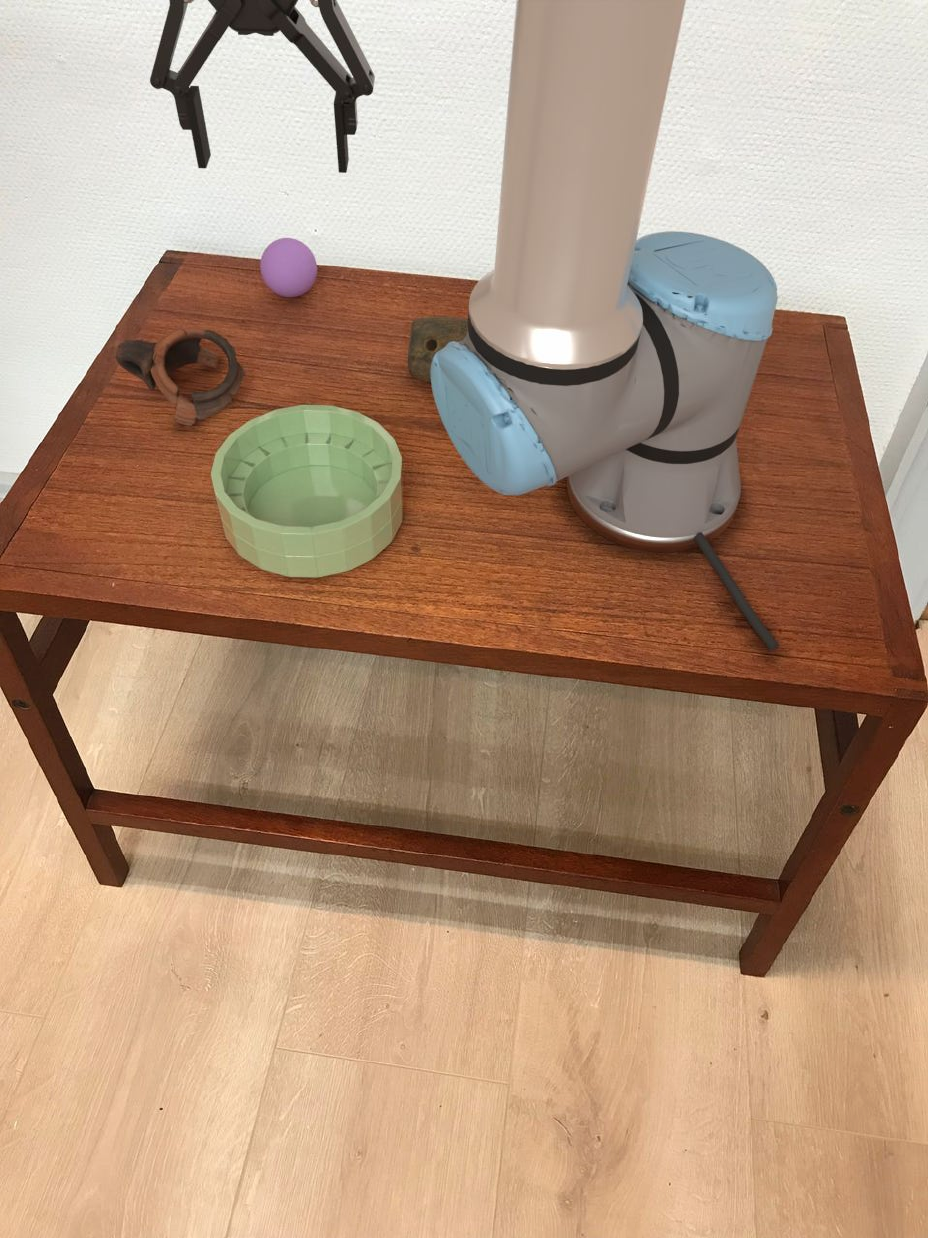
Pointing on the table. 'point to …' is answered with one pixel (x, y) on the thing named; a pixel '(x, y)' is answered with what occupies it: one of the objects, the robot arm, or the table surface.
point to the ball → (288, 267)
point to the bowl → (309, 490)
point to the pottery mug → (175, 353)
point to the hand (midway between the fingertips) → (274, 163)
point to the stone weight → (431, 342)
